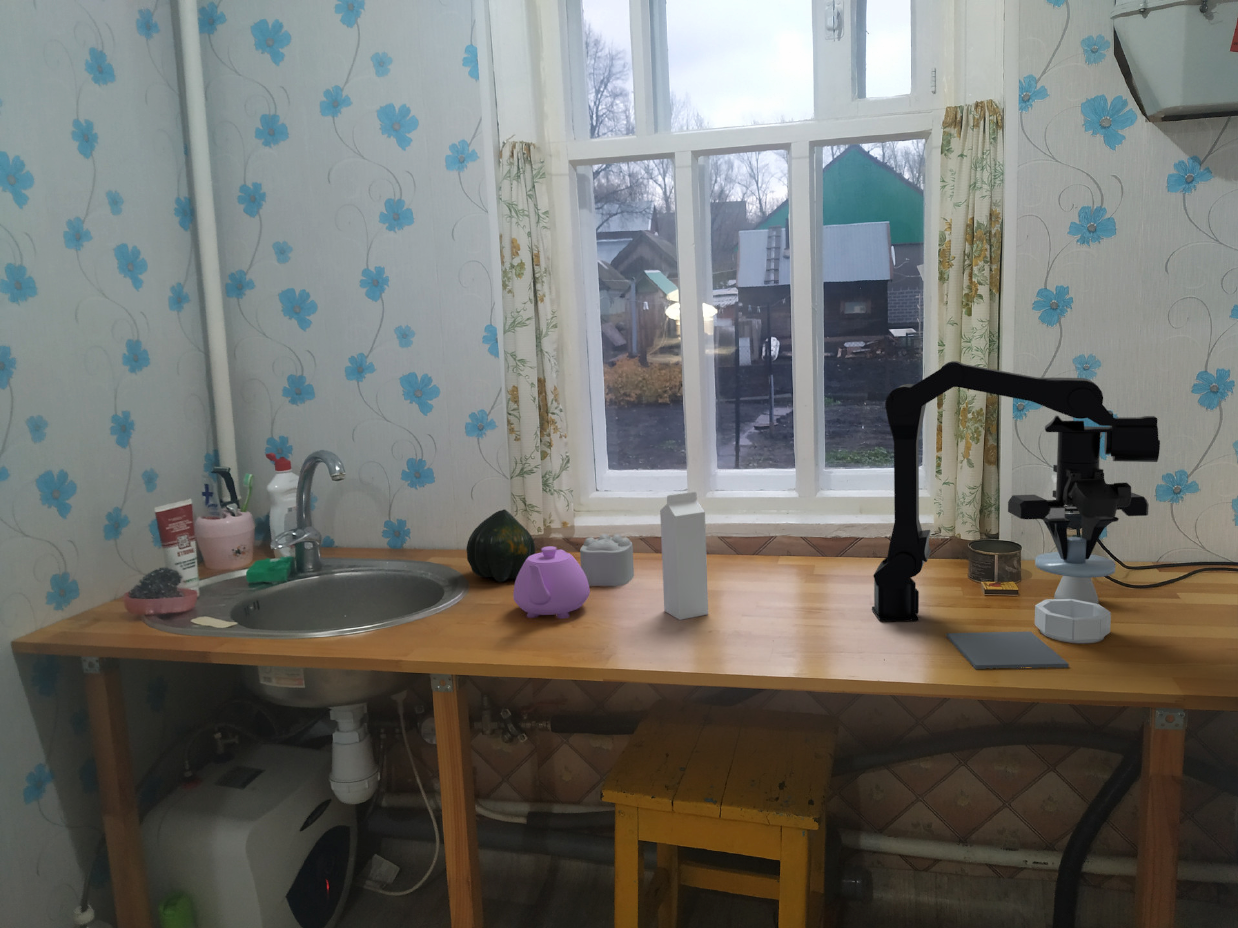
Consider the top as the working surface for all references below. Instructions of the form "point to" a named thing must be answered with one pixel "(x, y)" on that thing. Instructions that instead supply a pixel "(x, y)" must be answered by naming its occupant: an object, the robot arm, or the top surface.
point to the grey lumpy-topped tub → (607, 560)
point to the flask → (1077, 589)
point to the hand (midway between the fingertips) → (1074, 559)
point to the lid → (1075, 561)
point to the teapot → (550, 584)
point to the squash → (499, 547)
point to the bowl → (1072, 620)
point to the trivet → (1005, 650)
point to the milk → (684, 556)
